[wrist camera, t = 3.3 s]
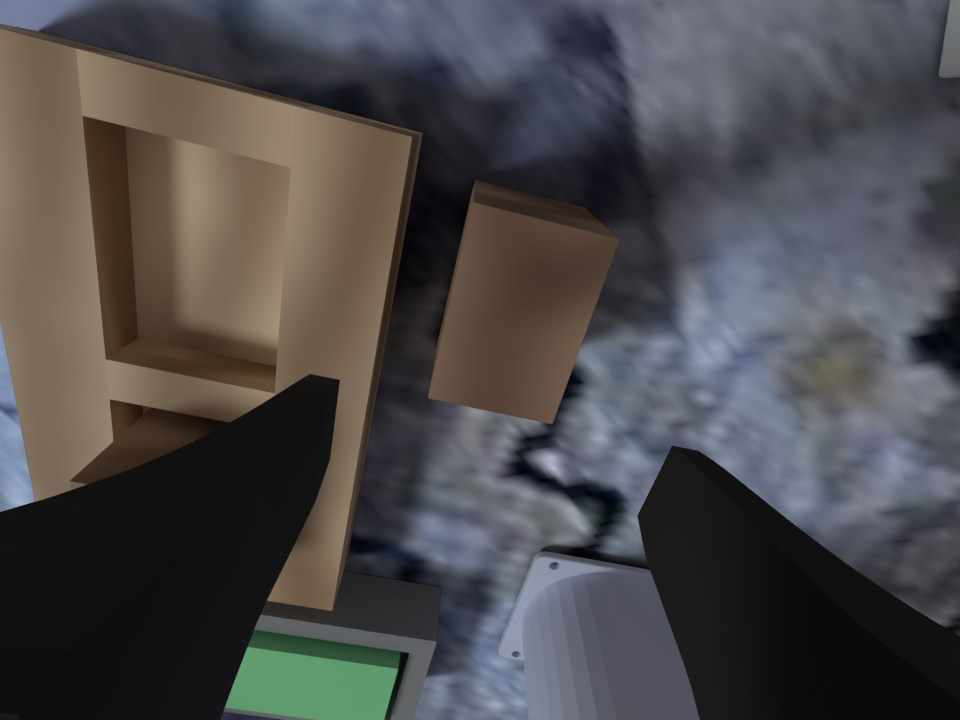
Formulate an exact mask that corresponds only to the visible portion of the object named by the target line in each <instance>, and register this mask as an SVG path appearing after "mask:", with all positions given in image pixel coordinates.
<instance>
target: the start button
mask: <svg viewBox="0 0 960 720" xmlns="http://www.w3.org/2000/svg"><path fill="white" fill-rule="evenodd" d="M400 653H401V652H400V651H394V650H387V649H380V648H374V647H367V646H360V645H354V644H347V643H340V642H334V641H327V640H321V639H314V638H307V637H301V636H294V635H287V634H281V633H274V632H267V631H261V630H254V632H253V634H252V637H251V639H250V642H249V645H248V647H247V650H246V652H245V655H244V658H243V660H242V663H241V666H240V668H239V671H238V673H237V676H236V679H235V681H234V684H233V687H232V689H231V692H230V695H229V697H228V700H227V703H226V706H225V708H231V709H239V710H246V711H254V712H262V713H269V714H277V715H284V716H292V717H299V718H307V719H314V720H384V718H385V715H386V711H387V708H388V704H389V700H390V697H391V693H392V689H393V686H394V682H395V679H396V675H397V671H398V667H399V660H400Z"/></svg>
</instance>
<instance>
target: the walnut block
mask: <svg viewBox="0 0 960 720" xmlns="http://www.w3.org/2000/svg"><path fill="white" fill-rule="evenodd" d="M619 241H620V239H619V238H618V237H617V236H616V235H615V234H613V233H612V232H611V231H610V230H609V229H608V228H607V227H606V226H605V225H603V224H602V223H601V222H600V221H599V220H598V219H597V218H596V217H595V216H593V215H592V214H591V213H590V212H589V211H588V210H587V209H586V208H584V207H580V206H576V205H572V204H569V203H565V202H561V201H557V200H553V199H549V198H545V197H542V196H538V195H534V194H530V193H526V192H522V191H518V190H515V189H511V188H507V187H503V186H499V185H495V184H491V183H487V182H484V181H480V180H476V179H475V180H474V185H473V189H472V193H471V198H470V202H469V207H468V211H467V215H466V220H465V224H464V228H463V233H462V237H461V242H460V246H459V250H458V255H457V259H456V264H455V268H454V272H453V277H452V281H451V286H450V290H449V294H448V299H447V303H446V307H445V312H444V316H443V321H442V325H441V329H440V334H439V339H438V345H437V350H436V356H435V362H434V367H433V373H432V378H431V384H430V390H429V395H428V398H429V399H434V400H439V401H444V402H448V403H453V404H458V405H463V406H468V407H472V408H477V409H482V410H487V411H492V412H496V413H501V414H506V415H511V416H516V417H520V418H525V419H530V420H535V421H540V422H544V423H549V424H552V423H553V420H554V417H555V415H556V412H557V409H558V407H559V404H560V401H561V398H562V396H563V393H564V390H565V388H566V385H567V382H568V380H569V377H570V374H571V371H572V369H573V366H574V363H575V361H576V358H577V355H578V352H579V350H580V347H581V344H582V342H583V339H584V336H585V333H586V331H587V328H588V325H589V323H590V320H591V317H592V314H593V312H594V309H595V306H596V304H597V301H598V298H599V295H600V293H601V290H602V287H603V285H604V282H605V279H606V276H607V274H608V271H609V268H610V266H611V263H612V260H613V257H614V255H615V252H616V249H617V247H618V244H619Z"/></svg>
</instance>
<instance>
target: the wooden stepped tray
mask: <svg viewBox="0 0 960 720" xmlns="http://www.w3.org/2000/svg"><path fill="white" fill-rule="evenodd" d="M422 135H423V133H420V132H416V131H413V130H409V129H405V128H401V127H397V126H394V125H390V124H386V123H382V122H379V121H375V120H371V119H367V118H363V117H360V116H356V115H352V114H348V113H345V112H341V111H337V110H333V109H330V108H326V107H322V106H318V105H314V104H311V103H307V102H303V101H299V100H296V99H292V98H288V97H284V96H280V95H277V94H273V93H269V92H265V91H262V90H258V89H254V88H250V87H246V86H243V85H239V84H235V83H231V82H228V81H224V80H220V79H216V78H212V77H209V76H205V75H201V74H197V73H194V72H190V71H186V70H182V69H179V68H175V67H171V66H167V65H163V64H160V63H156V62H152V61H148V60H145V59H141V58H137V57H133V56H129V55H126V54H122V53H118V52H114V51H111V50H107V49H103V48H99V47H95V46H92V45H88V44H84V43H80V42H77V41H73V40H69V39H65V38H62V37H58V36H54V35H50V34H46V33H43V32H39V31H35V30H29V29H24V28H19V27H13V26H8V25H3V24H0V322H1V328H2V333H3V338H4V343H5V348H6V354H7V359H8V364H9V369H10V375H11V380H12V385H13V390H14V395H15V401H16V406H17V411H18V416H19V421H20V427H21V432H22V437H23V442H24V447H25V453H26V458H27V463H28V468H29V473H30V479H31V484H32V489H33V494H34V500H35V502H36V501H39V500H43V499H46V498H49V497H52V496H55V495H58V494H61V493H64V492H67V491H70V490H71V489H70V482H69V481H70V480H71V479H72V478H73V477H74V476H76V475H77V474H78V473H79V472H80V471H81V470H82V469H83V468H84V467H86V466H87V465H88V464H89V463H90V462H91V461H92V460H93V459H94V458H96V457H97V456H98V455H99V454H100V453H101V452H102V451H103V450H105V449H106V448H107V447H108V446H109V445H110V444H111V443H112V442H113V441H115V440H116V439H117V438H118V437H119V436H120V435H121V434H122V433H123V432H125V431H126V430H127V429H128V428H129V427H130V426H131V425H132V424H133V423H135V422H136V421H137V420H138V419H139V418H140V417H141V416H142V415H143V414H145V413H146V412H147V411H148V410H149V409H150V408H151V407H152V408H158V409H163V410H168V411H173V412H178V413H183V414H189V415H194V416H199V417H204V418H209V419H215V420H220V421H225V422H231V421H233V420H235V419H237V418H239V417H240V416H242V415H244V414H245V413H247V412H249V411H250V410H252V409H254V408H255V407H257V406H259V405H260V404H262V403H264V402H265V401H267V400H269V399H270V398H272V397H273V396H275V395H277V394H278V393H280V392H281V391H283V390H284V389H286V388H288V387H289V386H291V385H292V384H294V383H296V382H297V381H299V380H300V379H302V378H304V377H306V376H307V375H309V374H313V375H318V376H323V377H328V378H333V379H338V380H340V385H339V392H338V400H337V408H336V416H335V424H334V432H333V440H332V448H331V456H330V461H329V464H328V467H327V470H326V473H325V476H324V479H323V482H322V485H321V487H320V490H319V493H318V496H317V499H316V502H315V504H314V506H313V508H312V510H311V512H310V514H309V516H308V518H307V520H306V522H305V524H304V526H303V529H302V531H301V533H300V535H299V537H298V539H297V541H296V543H295V545H294V547H293V549H292V551H291V553H290V555H289V557H288V559H287V561H286V563H285V565H284V567H283V569H282V571H281V573H280V575H279V577H278V579H277V581H276V583H275V585H274V587H273V589H272V591H271V593H270V595H269V597H268V599H267V601H272V602H278V603H285V604H291V605H297V606H304V607H310V608H317V609H323V610H329V611H332V610H333V606H334V603H335V600H336V596H337V593H338V589H339V586H340V583H341V579H342V576H343V572H344V569H345V566H346V562H347V559H348V554H349V548H350V542H351V537H352V531H353V525H354V520H355V514H356V509H357V503H358V497H359V492H360V486H361V480H362V475H363V469H364V463H365V458H366V452H367V446H368V441H369V435H370V429H371V424H372V418H373V412H374V407H375V401H376V395H377V390H378V384H379V378H380V373H381V367H382V362H383V356H384V350H385V345H386V339H387V333H388V328H389V322H390V316H391V311H392V305H393V299H394V294H395V288H396V282H397V277H398V271H399V265H400V260H401V254H402V248H403V243H404V237H405V232H406V226H407V220H408V215H409V209H410V203H411V198H412V192H413V186H414V181H415V175H416V169H417V164H418V158H419V152H420V147H421V141H422Z"/></svg>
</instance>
